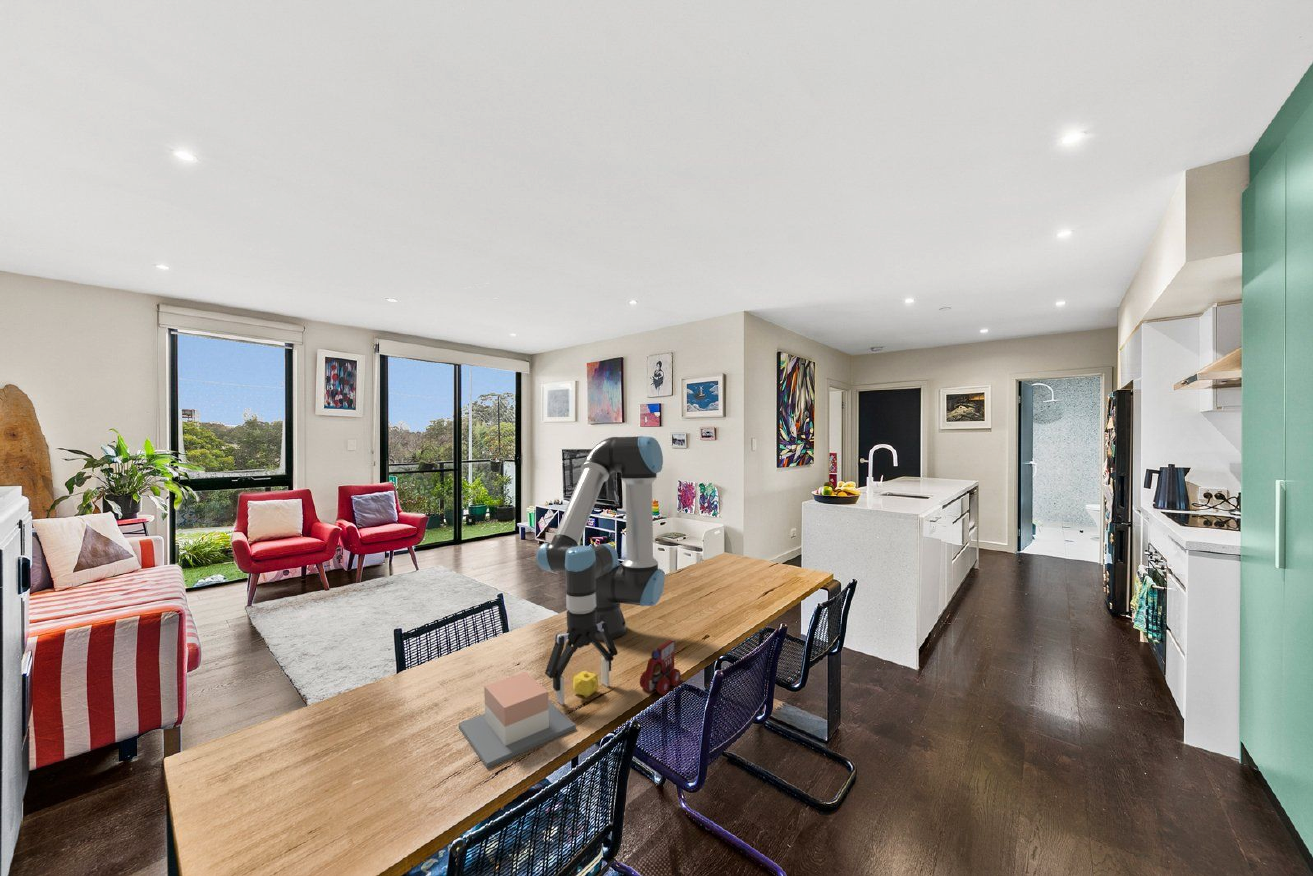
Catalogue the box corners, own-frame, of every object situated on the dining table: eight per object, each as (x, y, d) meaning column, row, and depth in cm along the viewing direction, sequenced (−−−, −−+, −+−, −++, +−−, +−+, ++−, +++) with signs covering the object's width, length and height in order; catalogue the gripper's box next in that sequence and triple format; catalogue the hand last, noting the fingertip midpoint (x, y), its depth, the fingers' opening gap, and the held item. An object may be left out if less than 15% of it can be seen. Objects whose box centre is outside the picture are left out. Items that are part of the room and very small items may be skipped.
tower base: (540, 696, 125) (539, 661, 125) (575, 729, 111) (574, 689, 111) (458, 727, 112) (457, 688, 112) (486, 768, 98) (485, 723, 98)
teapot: (564, 695, 125) (563, 675, 125) (578, 685, 130) (578, 665, 130) (588, 703, 121) (588, 682, 121) (603, 692, 126) (602, 672, 126)
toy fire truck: (635, 693, 126) (634, 652, 125) (663, 673, 136) (662, 635, 135) (657, 701, 121) (656, 659, 121) (684, 680, 132) (683, 641, 131)
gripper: (613, 594, 136) (615, 672, 136) (529, 616, 121) (532, 704, 121) (629, 601, 130) (631, 682, 130) (543, 625, 115) (545, 717, 115)
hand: (583, 693), depth 126 cm, fingers open, 12 cm apart
